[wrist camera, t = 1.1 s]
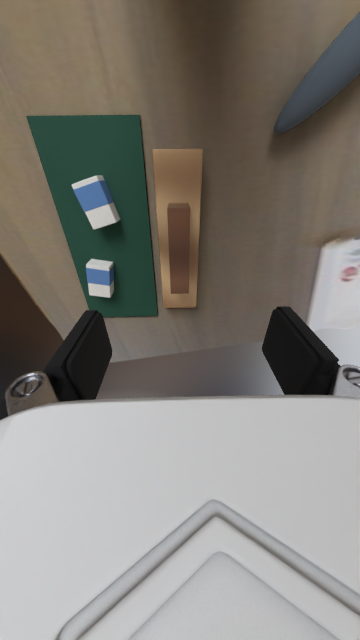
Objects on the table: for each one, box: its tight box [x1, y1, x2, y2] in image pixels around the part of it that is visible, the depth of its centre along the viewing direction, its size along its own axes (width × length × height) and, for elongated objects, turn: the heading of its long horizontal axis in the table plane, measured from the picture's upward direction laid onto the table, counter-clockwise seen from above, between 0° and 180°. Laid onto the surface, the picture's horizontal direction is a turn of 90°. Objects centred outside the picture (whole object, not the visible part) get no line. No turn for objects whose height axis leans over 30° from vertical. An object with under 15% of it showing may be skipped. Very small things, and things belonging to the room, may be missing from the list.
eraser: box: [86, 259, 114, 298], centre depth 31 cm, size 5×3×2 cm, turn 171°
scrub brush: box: [152, 149, 203, 308], centre depth 26 cm, size 20×5×7 cm, turn 1°
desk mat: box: [27, 115, 158, 317], centre depth 29 cm, size 26×12×1 cm, turn 1°
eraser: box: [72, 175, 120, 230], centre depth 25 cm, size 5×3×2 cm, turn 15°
